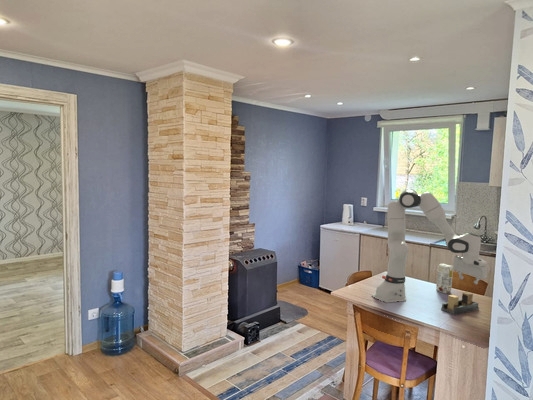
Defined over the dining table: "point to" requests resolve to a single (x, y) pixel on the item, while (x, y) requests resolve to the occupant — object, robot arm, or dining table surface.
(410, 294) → the dining table surface
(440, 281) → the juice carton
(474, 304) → the grey tray with block
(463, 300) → the brown wooden block
